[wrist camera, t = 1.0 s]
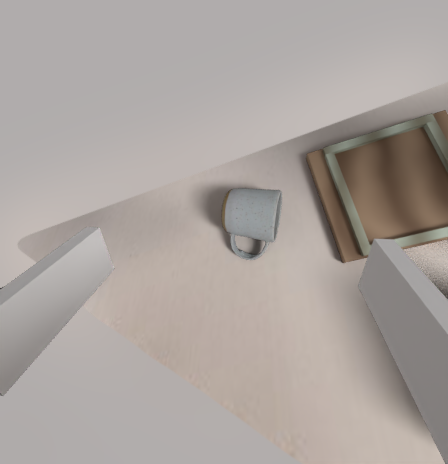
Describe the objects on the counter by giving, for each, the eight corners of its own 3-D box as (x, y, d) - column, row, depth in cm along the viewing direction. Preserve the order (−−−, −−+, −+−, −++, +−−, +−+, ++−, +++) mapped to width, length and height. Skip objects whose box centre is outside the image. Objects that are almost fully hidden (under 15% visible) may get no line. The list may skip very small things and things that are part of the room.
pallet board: (438, 117, 35) (449, 106, 33) (499, 227, 30) (516, 223, 28) (306, 158, 39) (307, 150, 36) (342, 263, 34) (347, 261, 32)
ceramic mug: (234, 196, 40) (224, 178, 33) (282, 200, 38) (282, 182, 31) (224, 256, 39) (211, 251, 31) (273, 264, 36) (271, 261, 29)
